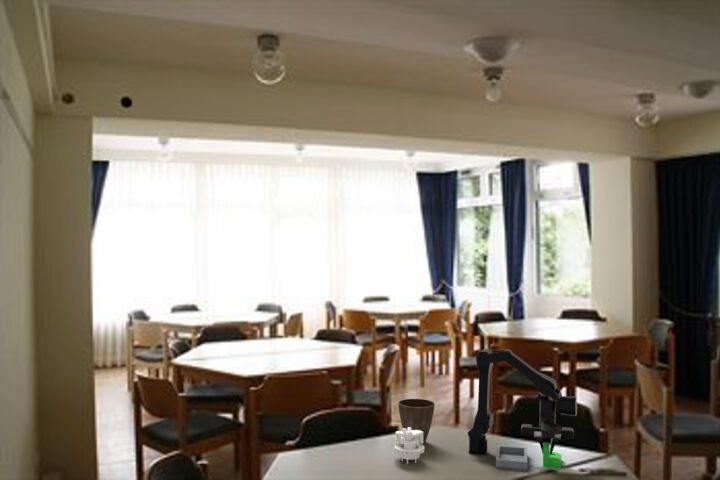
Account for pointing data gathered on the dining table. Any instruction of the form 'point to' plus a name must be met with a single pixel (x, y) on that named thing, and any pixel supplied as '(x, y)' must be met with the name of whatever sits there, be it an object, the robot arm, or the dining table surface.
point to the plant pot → (416, 415)
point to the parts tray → (511, 457)
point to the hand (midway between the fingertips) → (546, 454)
